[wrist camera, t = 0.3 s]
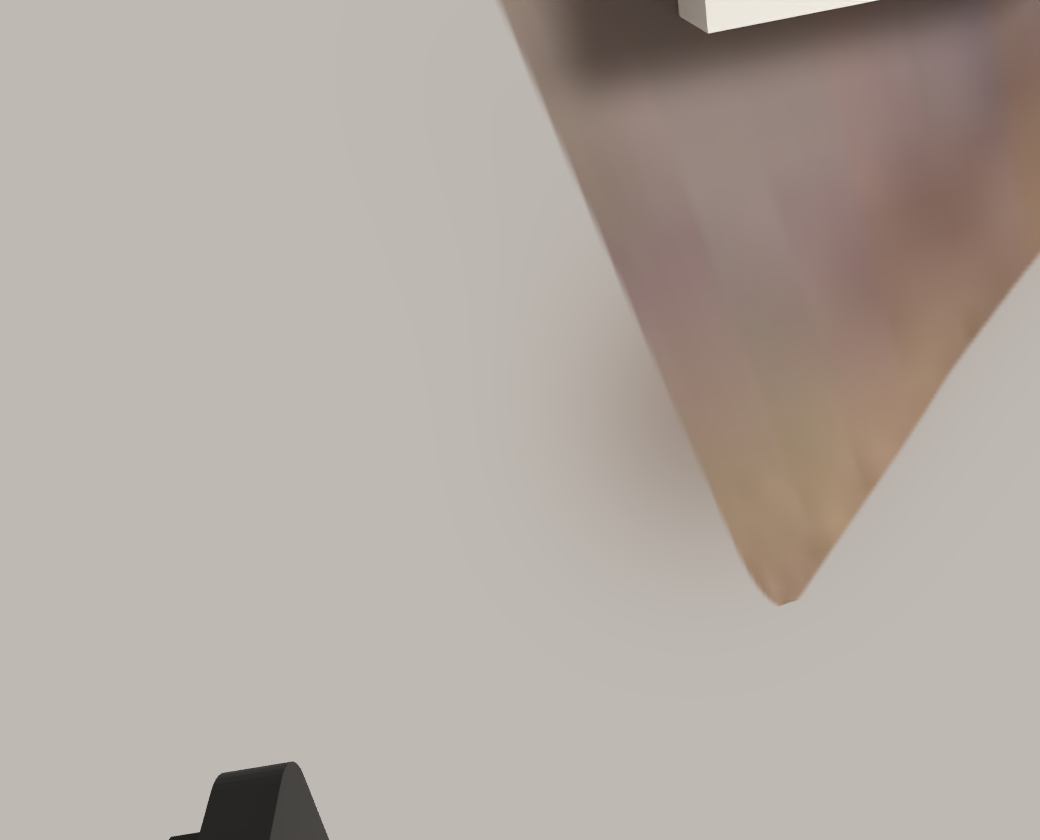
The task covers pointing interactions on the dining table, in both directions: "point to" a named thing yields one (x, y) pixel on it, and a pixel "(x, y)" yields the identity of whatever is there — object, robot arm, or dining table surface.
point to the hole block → (750, 11)
